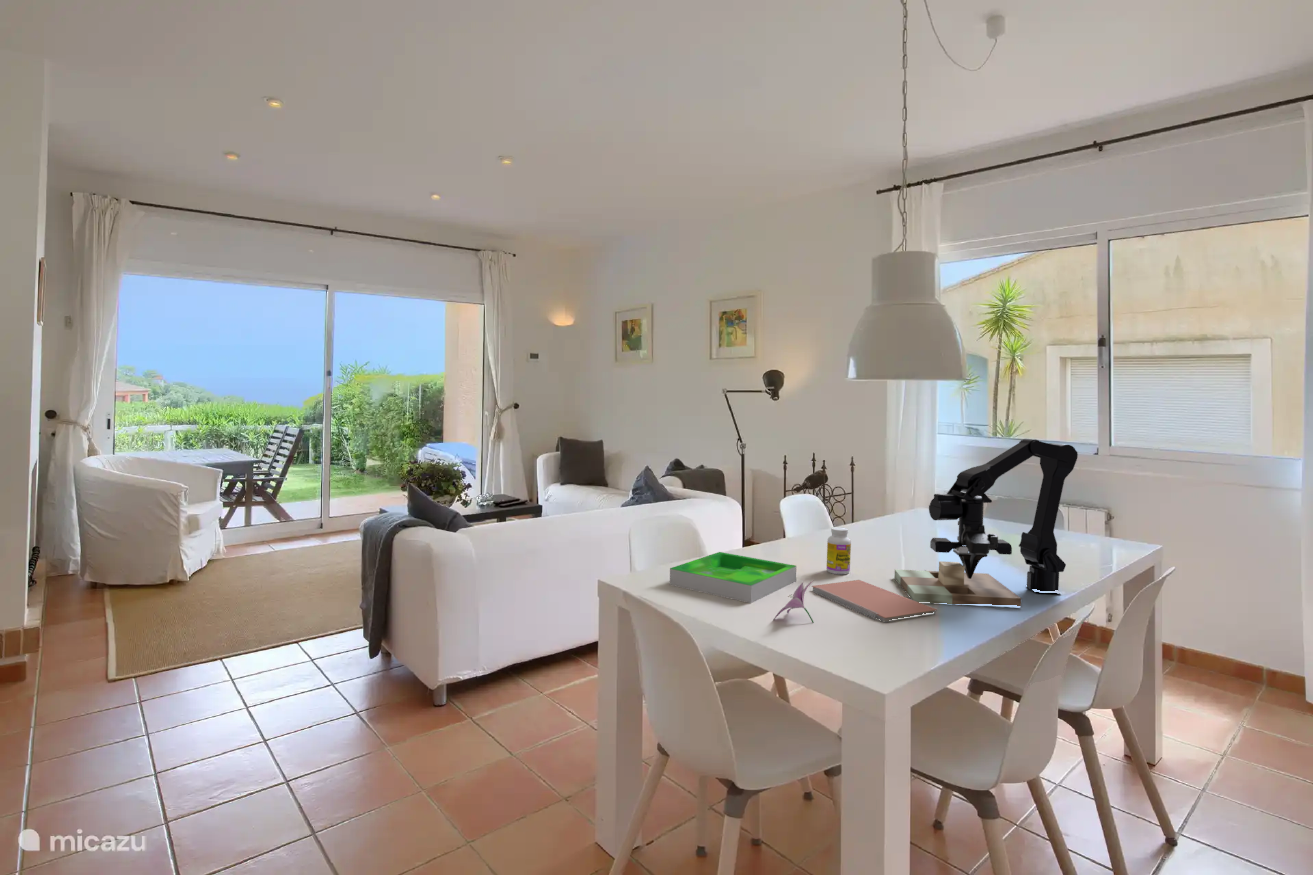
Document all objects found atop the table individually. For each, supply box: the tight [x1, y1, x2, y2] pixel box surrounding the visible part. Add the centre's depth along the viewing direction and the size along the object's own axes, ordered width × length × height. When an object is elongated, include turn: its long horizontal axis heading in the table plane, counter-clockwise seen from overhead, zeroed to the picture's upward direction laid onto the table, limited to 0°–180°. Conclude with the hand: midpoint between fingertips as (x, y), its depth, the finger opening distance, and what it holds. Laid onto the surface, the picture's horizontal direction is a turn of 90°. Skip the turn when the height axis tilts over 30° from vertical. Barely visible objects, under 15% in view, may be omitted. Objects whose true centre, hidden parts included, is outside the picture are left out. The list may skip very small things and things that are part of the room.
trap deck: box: [894, 568, 1022, 607], centre depth 177 cm, size 25×23×2 cm
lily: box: [773, 579, 815, 623], centre depth 154 cm, size 12×12×10 cm
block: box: [938, 560, 965, 586], centre depth 177 cm, size 5×5×5 cm
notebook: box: [811, 579, 938, 622], centre depth 168 cm, size 27×17×2 cm, turn 24°
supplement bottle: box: [826, 526, 852, 575], centre depth 195 cm, size 7×7×13 cm
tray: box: [669, 551, 797, 604], centre depth 183 cm, size 25×25×5 cm
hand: (969, 578), depth 176 cm, fingers closed
